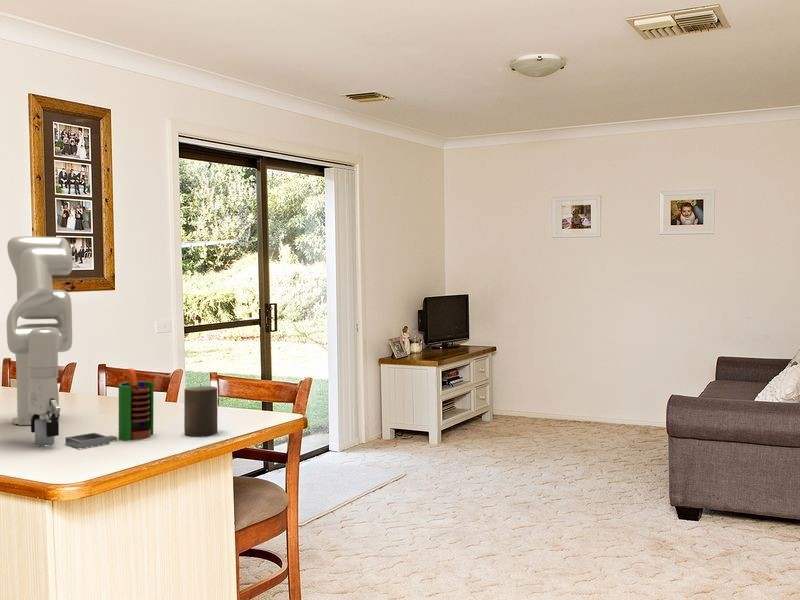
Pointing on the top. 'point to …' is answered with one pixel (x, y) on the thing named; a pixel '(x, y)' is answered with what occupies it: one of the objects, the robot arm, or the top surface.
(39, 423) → the pump
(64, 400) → the top surface
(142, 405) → the motor
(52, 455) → the top surface
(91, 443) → the grey tray
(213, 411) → the pillar candle
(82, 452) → the top surface
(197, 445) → the top surface
